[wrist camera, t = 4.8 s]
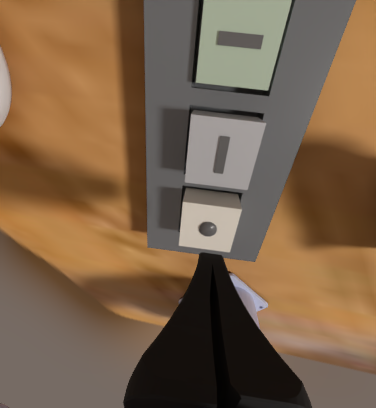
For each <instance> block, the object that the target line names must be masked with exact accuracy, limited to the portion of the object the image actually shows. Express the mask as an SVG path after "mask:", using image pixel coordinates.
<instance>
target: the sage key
mask: <svg viewBox="0 0 376 408" xmlns="http://www.w3.org/2000/svg"><path fill="white" fill-rule="evenodd" d="M291 2H292V0H204V4H203V14H202V24H201V34H200V44H199V55H198V65H197V75H196V83H204V84H213V85H222V86H231V87H240V88H249V89H258V90H267V91H268V89H269V85H270V81H271V78H272V74H273V70H274V66H275V63H276V59H277V55H278V51H279V47H280V44H281V40H282V36H283V32H284V29H285V25H286V21H287V17H288V13H289V10H290V6H291Z"/></svg>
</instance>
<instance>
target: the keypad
mask: <svg viewBox="0 0 376 408" xmlns="http://www.w3.org/2000/svg"><path fill="white" fill-rule="evenodd" d="M355 2H356V0H292V2H291V6H290V10H289V13H288V17H287V21H286V25H285V29H284V32H283V36H282V40H281V44H280V47H279V51H278V55H277V59H276V63H275V66H274V70H273V74H272V78H271V81H270V85H269V89H268V91H267V90H258V89H249V88H240V87H231V86H222V85H213V84H204V83H196V75H197V65H198V55H199V44H200V34H201V24H202V14H203V4H204V0H144V48H145V112H146V176H147V240H148V247H149V248H156V249H164V250H171V251H178V252H186V253H193V254H200V253H201V252H204V253H211V254H218V255H222V256H223V258H230V259H237V260H245V261H252V262H255V261H256V258H257V256H258V253H259V250H260V248H261V245H262V243H263V240H264V237H265V235H266V232H267V230H268V227H269V225H270V222H271V219H272V217H273V214H274V212H275V209H276V206H277V204H278V201H279V199H280V196H281V193H282V191H283V188H284V186H285V183H286V181H287V178H288V175H289V173H290V170H291V168H292V165H293V162H294V160H295V157H296V155H297V152H298V149H299V147H300V144H301V142H302V139H303V136H304V134H305V131H306V129H307V126H308V124H309V121H310V118H311V116H312V113H313V111H314V108H315V105H316V103H317V100H318V98H319V95H320V92H321V90H322V87H323V85H324V82H325V80H326V77H327V74H328V72H329V69H330V67H331V64H332V61H333V59H334V56H335V54H336V51H337V48H338V46H339V43H340V41H341V38H342V35H343V33H344V30H345V28H346V25H347V23H348V20H349V17H350V15H351V12H352V10H353V7H354V4H355ZM193 110H200V111H209V112H218V113H226V114H235V115H244V116H252V117H258V118H260V119H261V120H263V121H264V122H266V126H265V130H264V133H263V137H262V140H261V144H260V148H259V151H258V155H257V158H256V162H255V165H254V169H253V172H252V176H251V179H250V183H249V187H248V190H242V189H234V188H226V187H218V186H210V185H202V184H194V183H186V182H185V174H186V163H187V153H188V142H189V131H190V121H191V114H192V112H193ZM186 188H194V189H202V190H210V191H218V192H226V193H234V194H238V196H239V200H240V203H241V207H242V211H241V215H240V218H239V222H238V226H237V229H236V233H235V236H234V240H233V243H232V247H231V250H230V252H222V251H215V250H207V249H200V248H193V247H185V246H179V237H180V227H181V216H182V206H183V199H184V194H185V190H186Z"/></svg>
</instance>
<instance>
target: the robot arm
mask: <svg viewBox="0 0 376 408" xmlns="http://www.w3.org/2000/svg"><path fill="white" fill-rule="evenodd" d="M267 307H268V303H267V302H266V301H265V300H264V299H263V298H261V297H260V296H259V295H258V294H257V293H255V292H254V291H253V290H252V289H251V288H250V287H248V286H247V285H246V284H245V283H244V282H243V281H241V280H240V279H239V278H238V277H237V276H235V275H234V274H233V273H228V270H227V268H226V265H225V262H224V259H223V256H222V255H218V254H211V253H204V252H201V253H200V254H199V259H198V265H197V268H196V271H195V273H194V276H193V278H192V281H191V283H190V285H189V287H188V289H187V291H186V293H185V295H184V297H183V298H181V299H180V300H179V305H178V307H177V309H176V310H175V312H174V314H173V315H172V317H171V318H170V320H169V321H168V323H167V324H166V325H165V327H164V328H163V330H162V331H161V332H160V334H159V335H158V336H157V338H156V339H155V340H154V342H153V343H152V344H151V345H150V347H149V348H148V349H147V350H146V351H145V353H144V354H143V355H142V357H141V359H140V361H139V362H138V364H137V366H136V368H135V370H134V372H133V374H132V376H131V378H130V380H129V383H128V386H127V389H126V393H125V397H124V402H123V403H124V408H312V406H311V402H310V400H309V397H308V395H307V393H306V390H305V388H304V385H303V383H302V381H301V380H300V379H299V378H298V377H297V376H296V375H295V373H294V372H293V371H292V370H291V369H290V368H289V366H288V365H287V364H286V363H285V362H284V360H283V359H282V358H281V357H280V355H279V354H278V353H277V352H276V350H275V349H274V348H273V347H272V345H271V344H270V343H269V341H268V340H267V338H266V337H265V336H264V334H263V333H262V332H261V330H260V327H259V322H258V317H257V311H260V310H262V309H265V308H267ZM0 408H9V407H8V406H6V405H4V404H2V403H0Z"/></svg>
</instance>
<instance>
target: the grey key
mask: <svg viewBox="0 0 376 408" xmlns="http://www.w3.org/2000/svg"><path fill="white" fill-rule="evenodd" d="M265 126H266V122H264V121H263V120H261V119H260V118H258V117H252V116H244V115H235V114H226V113H218V112H209V111H200V110H193V112H192V114H191V121H190V131H189V142H188V153H187V163H186V174H185V182H186V183H194V184H202V185H210V186H218V187H226V188H234V189H242V190H248V187H249V183H250V179H251V176H252V172H253V169H254V165H255V162H256V158H257V155H258V151H259V148H260V144H261V140H262V137H263V133H264V130H265Z"/></svg>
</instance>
